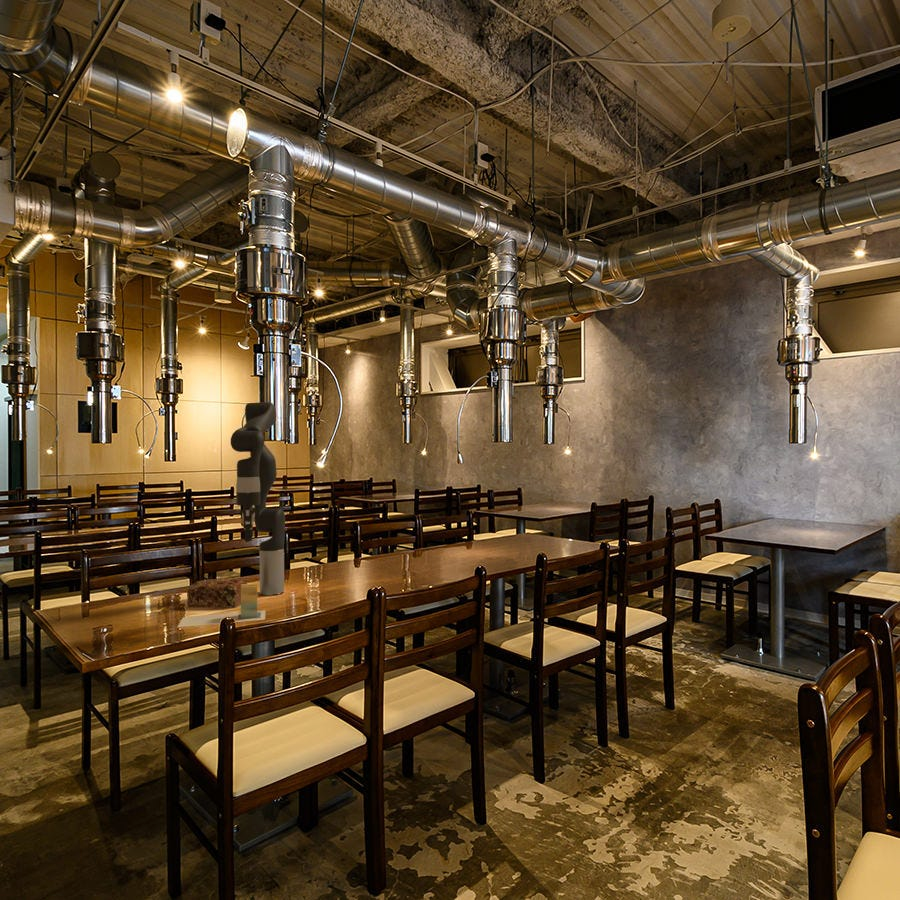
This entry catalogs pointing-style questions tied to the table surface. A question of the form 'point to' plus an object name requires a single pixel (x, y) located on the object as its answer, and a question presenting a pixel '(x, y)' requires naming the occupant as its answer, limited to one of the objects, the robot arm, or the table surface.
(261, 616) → the blueprint board
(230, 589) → the bread
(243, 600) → the ochre block
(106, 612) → the table surface
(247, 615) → the green block
